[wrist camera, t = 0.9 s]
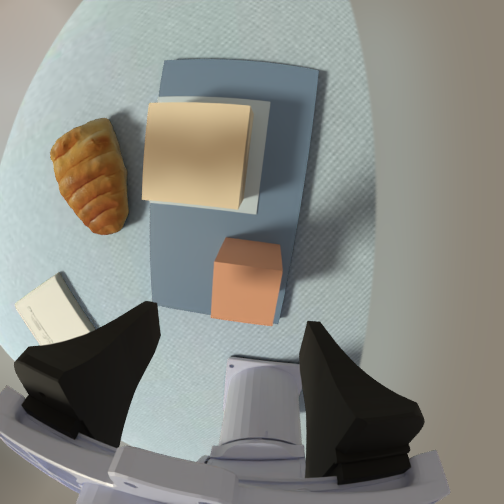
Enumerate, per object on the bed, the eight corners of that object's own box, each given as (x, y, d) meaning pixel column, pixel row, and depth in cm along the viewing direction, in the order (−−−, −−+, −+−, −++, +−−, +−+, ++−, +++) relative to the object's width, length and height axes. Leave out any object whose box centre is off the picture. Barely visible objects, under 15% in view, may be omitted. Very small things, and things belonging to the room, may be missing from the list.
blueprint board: (278, 318, 23) (278, 324, 22) (155, 300, 23) (152, 305, 23) (317, 73, 16) (319, 69, 15) (168, 63, 16) (164, 60, 15)
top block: (272, 292, 22) (272, 326, 17) (221, 285, 22) (210, 317, 17) (280, 244, 20) (282, 270, 16) (225, 237, 20) (214, 261, 16)
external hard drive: (102, 331, 26) (52, 347, 29) (62, 269, 24) (19, 299, 26) (95, 339, 25) (46, 354, 27) (53, 275, 22) (12, 305, 25)
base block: (243, 198, 19) (238, 209, 16) (162, 190, 19) (141, 199, 16) (253, 113, 17) (250, 105, 13) (169, 109, 17) (149, 102, 14)
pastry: (153, 213, 21) (131, 227, 17) (96, 241, 22) (72, 257, 19) (113, 112, 18) (86, 108, 14) (60, 151, 19) (33, 155, 16)
